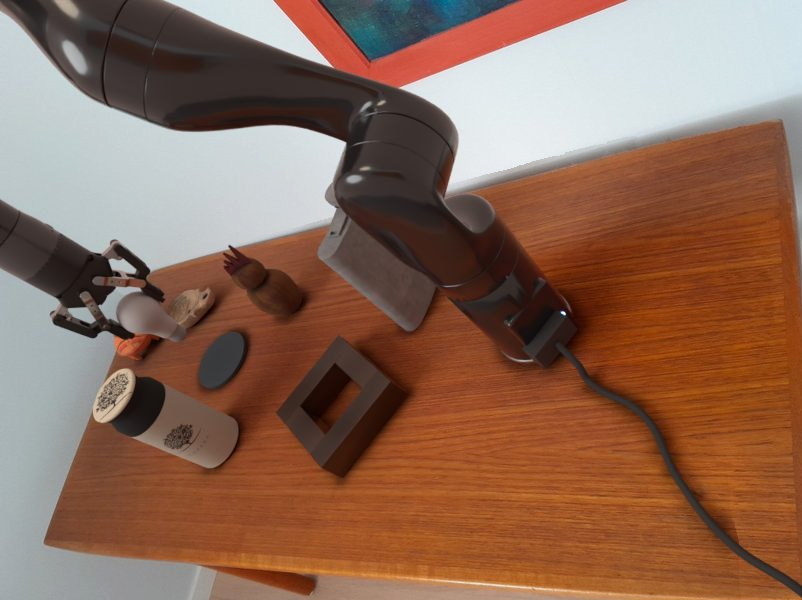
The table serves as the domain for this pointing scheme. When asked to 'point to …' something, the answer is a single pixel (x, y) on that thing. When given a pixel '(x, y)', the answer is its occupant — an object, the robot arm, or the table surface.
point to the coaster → (222, 360)
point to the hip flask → (375, 270)
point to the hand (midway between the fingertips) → (147, 316)
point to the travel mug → (165, 418)
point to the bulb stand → (358, 420)
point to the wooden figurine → (263, 284)
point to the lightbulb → (147, 317)
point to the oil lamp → (190, 306)
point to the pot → (133, 345)
